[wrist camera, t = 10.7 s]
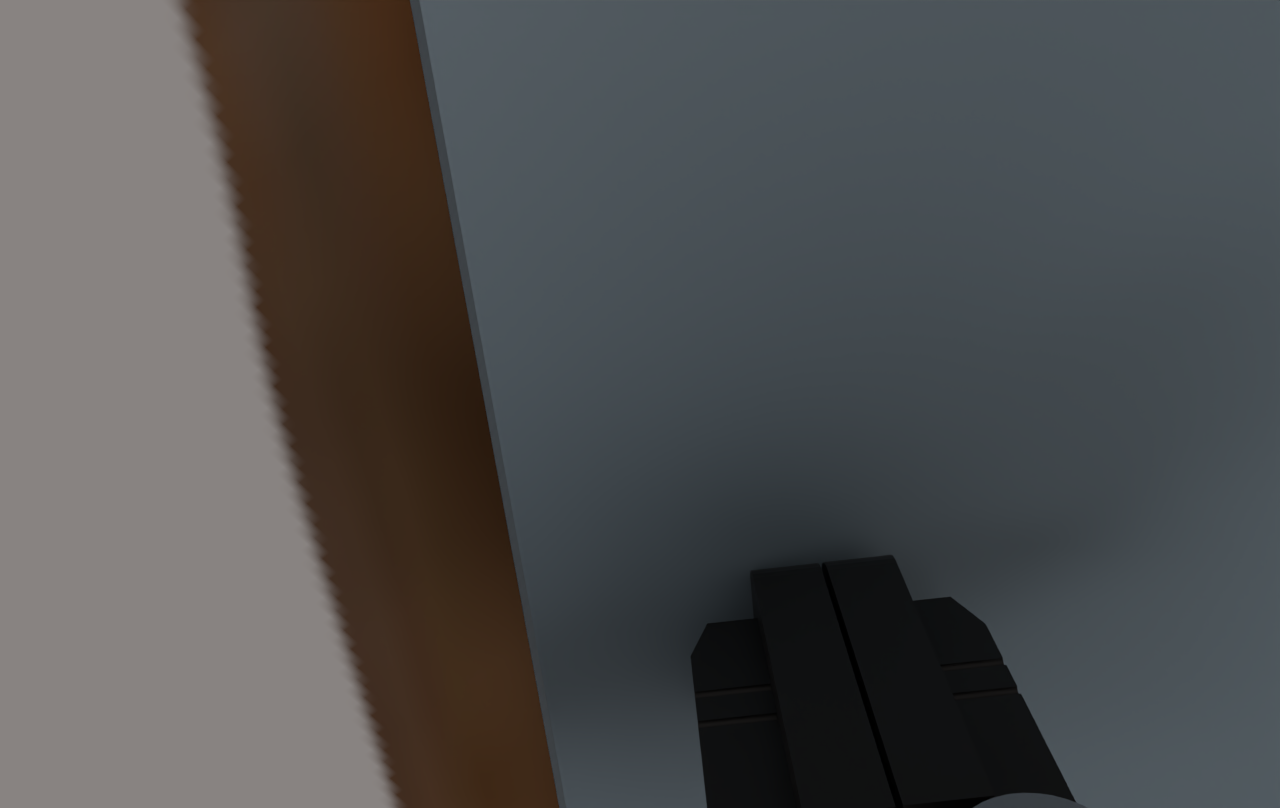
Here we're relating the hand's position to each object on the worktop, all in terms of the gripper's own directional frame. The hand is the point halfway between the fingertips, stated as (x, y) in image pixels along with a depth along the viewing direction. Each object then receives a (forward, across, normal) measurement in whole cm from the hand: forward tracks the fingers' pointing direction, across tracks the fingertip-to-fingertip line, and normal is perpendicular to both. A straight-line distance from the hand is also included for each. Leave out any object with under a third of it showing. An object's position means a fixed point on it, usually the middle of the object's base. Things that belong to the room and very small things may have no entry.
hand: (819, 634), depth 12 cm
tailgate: (+2, -7, 0) cm, 7 cm away
